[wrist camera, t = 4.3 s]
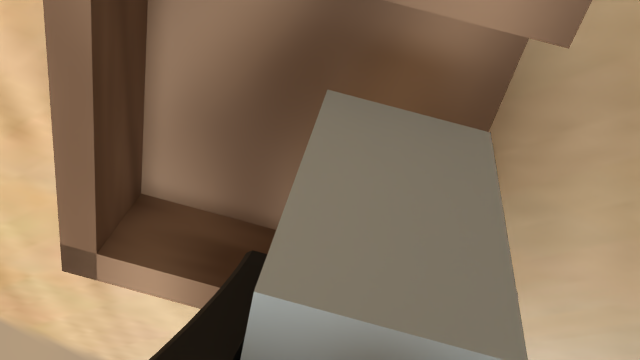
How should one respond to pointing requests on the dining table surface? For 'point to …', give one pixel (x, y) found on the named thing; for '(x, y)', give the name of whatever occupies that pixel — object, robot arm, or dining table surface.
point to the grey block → (389, 246)
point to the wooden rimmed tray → (243, 113)
